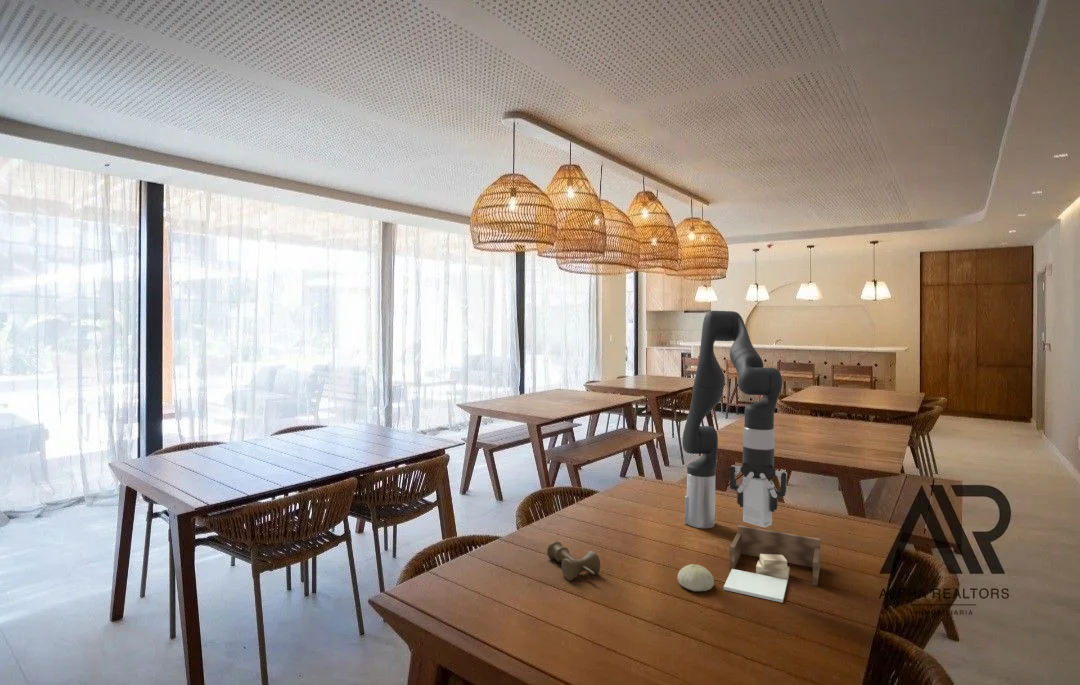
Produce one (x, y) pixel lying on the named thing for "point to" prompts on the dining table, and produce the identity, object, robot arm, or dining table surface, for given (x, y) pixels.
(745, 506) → the skincare box
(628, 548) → the dining table surface
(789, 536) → the screen
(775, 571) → the offcut low
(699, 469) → the robot arm
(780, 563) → the offcut top
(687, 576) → the sea urchin shell
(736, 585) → the plate
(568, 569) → the kendama
